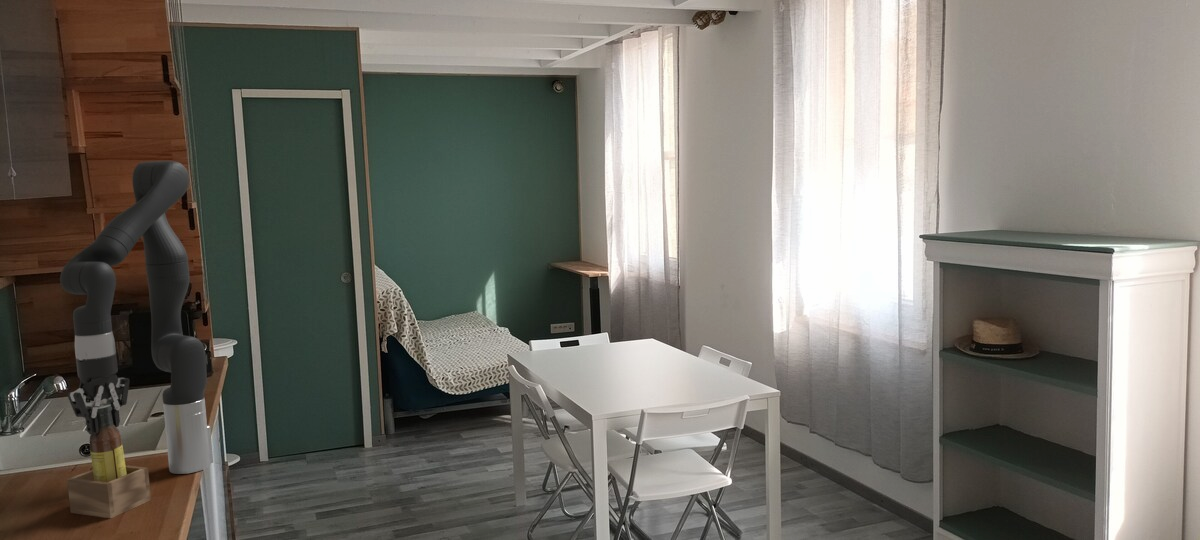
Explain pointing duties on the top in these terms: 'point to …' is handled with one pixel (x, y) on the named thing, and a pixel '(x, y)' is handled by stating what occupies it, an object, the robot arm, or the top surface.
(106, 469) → the sauce bottle
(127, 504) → the box
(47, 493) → the top surface
